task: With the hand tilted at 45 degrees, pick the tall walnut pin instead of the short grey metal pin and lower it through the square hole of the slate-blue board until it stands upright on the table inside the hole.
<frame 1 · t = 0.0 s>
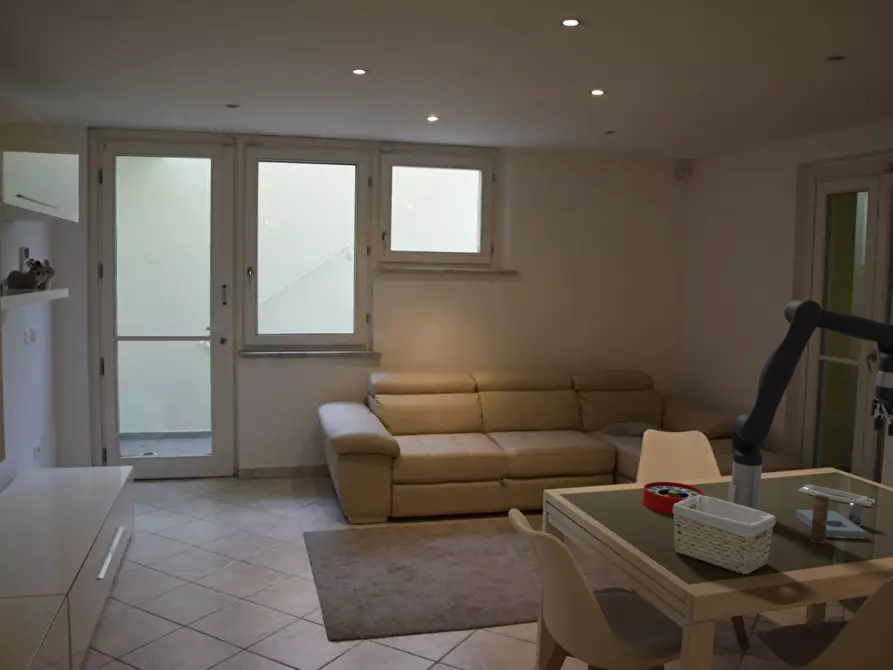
hand: (884, 432, 261), 29 cm above the table, tool pointing down, fingers open, 8 cm apart
storage basket: (720, 559, 221), on the table
hole board: (834, 531, 248), on the table
short pin: (854, 524, 256), on the table
door handle: (835, 499, 286), on the table
long pin: (817, 541, 238), on the table
toy clock: (672, 507, 268), on the table
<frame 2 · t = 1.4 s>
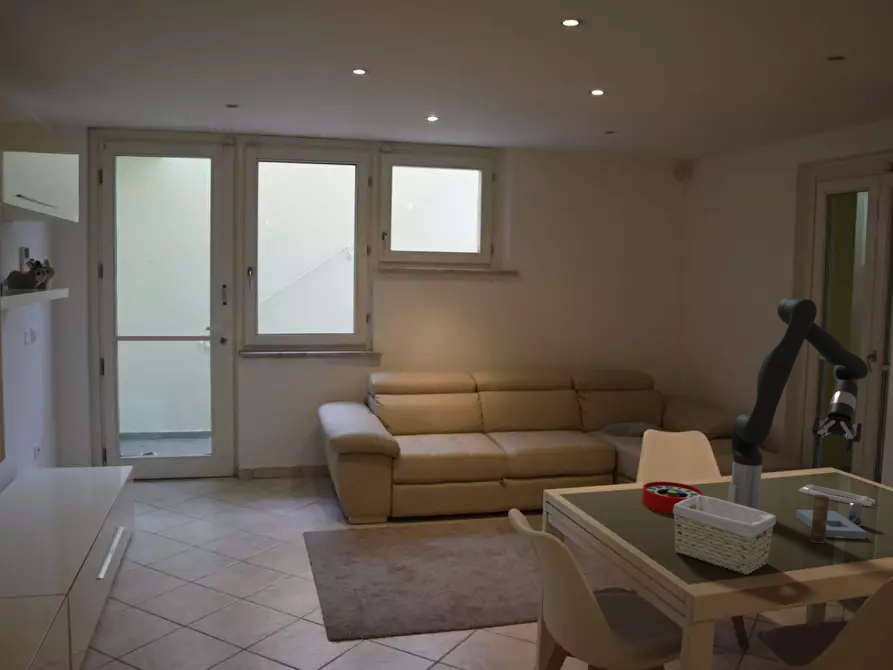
hand: (833, 448, 251), 26 cm above the table, tool tilted 45°, fingers open, 8 cm apart
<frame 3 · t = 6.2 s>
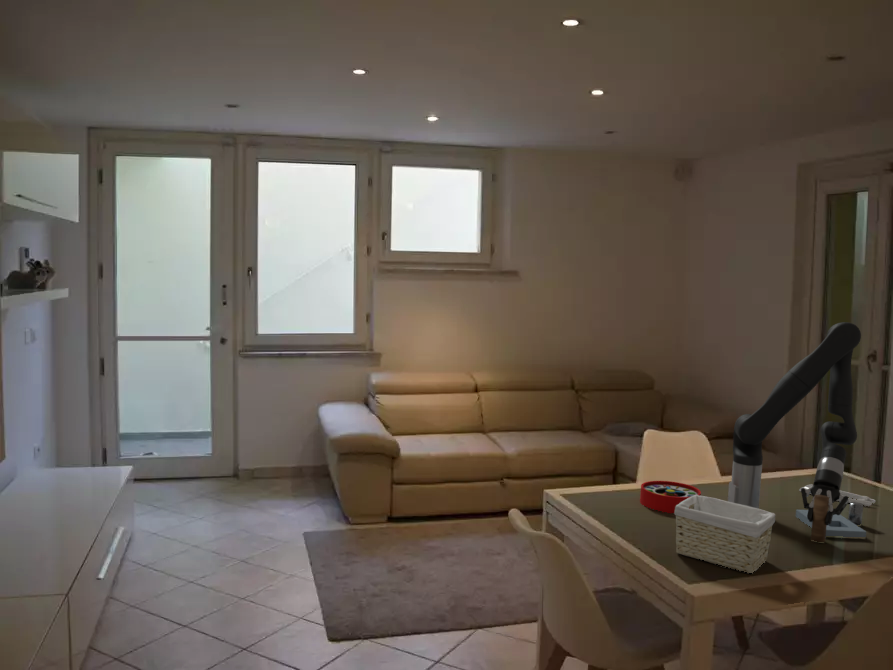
hand: (818, 522, 236), 7 cm above the table, tool tilted 45°, fingers closed on long pin, 4 cm apart
long pin: (817, 541, 238), on the table, touching gripper
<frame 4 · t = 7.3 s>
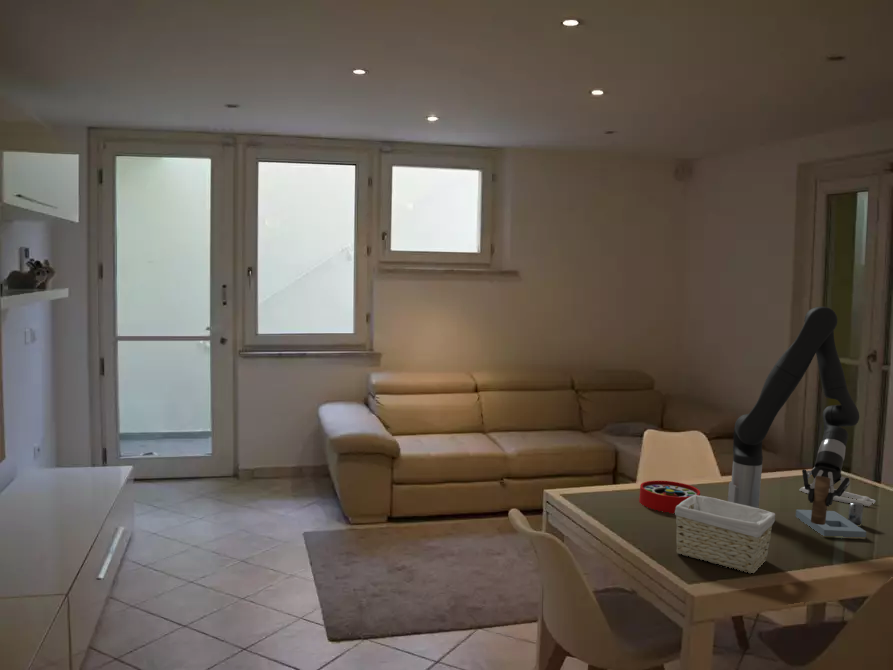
hand: (819, 503, 236), 12 cm above the table, tool tilted 45°, fingers closed on long pin, 4 cm apart
long pin: (817, 522, 238), point 6 cm above the table, touching gripper
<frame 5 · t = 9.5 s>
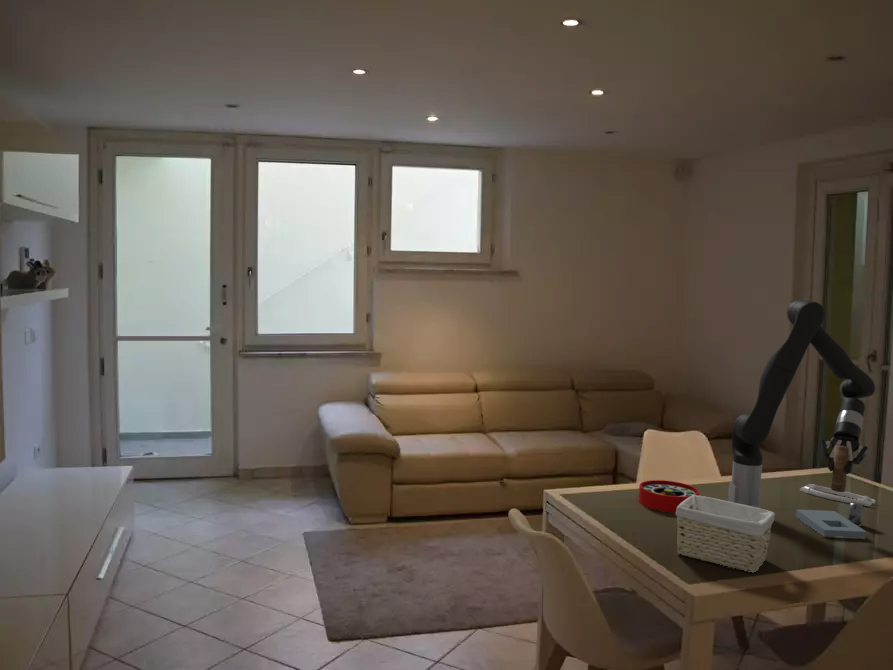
hand: (838, 471, 245), 20 cm above the table, tool tilted 45°, fingers closed on long pin, 4 cm apart
long pin: (838, 490, 247), point 14 cm above the table, touching gripper
when the fingers open (8 cm above the table, at t = 12.7 s): long pin drops 2 cm, resting in hole board.
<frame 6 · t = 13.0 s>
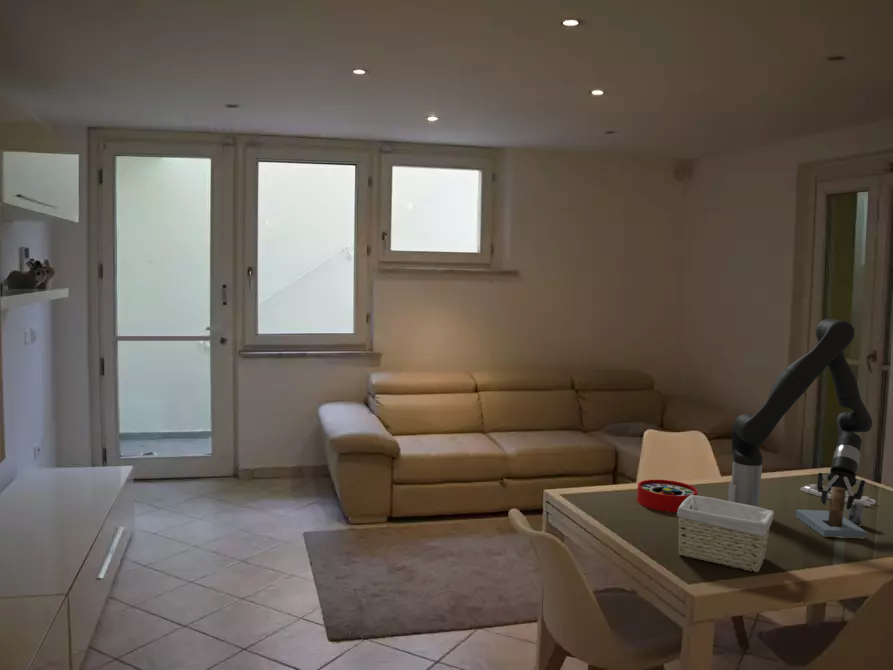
hand: (836, 505, 246), 9 cm above the table, tool tilted 45°, fingers open, 6 cm apart
long pin: (834, 531, 248), resting in hole board
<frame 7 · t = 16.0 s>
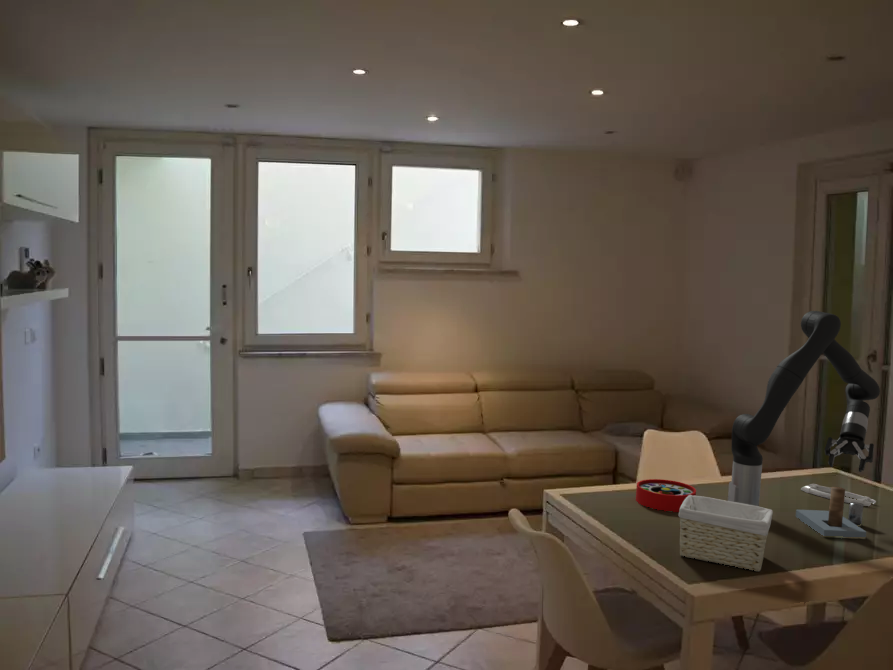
hand: (845, 468, 255), 19 cm above the table, tool tilted 45°, fingers open, 8 cm apart
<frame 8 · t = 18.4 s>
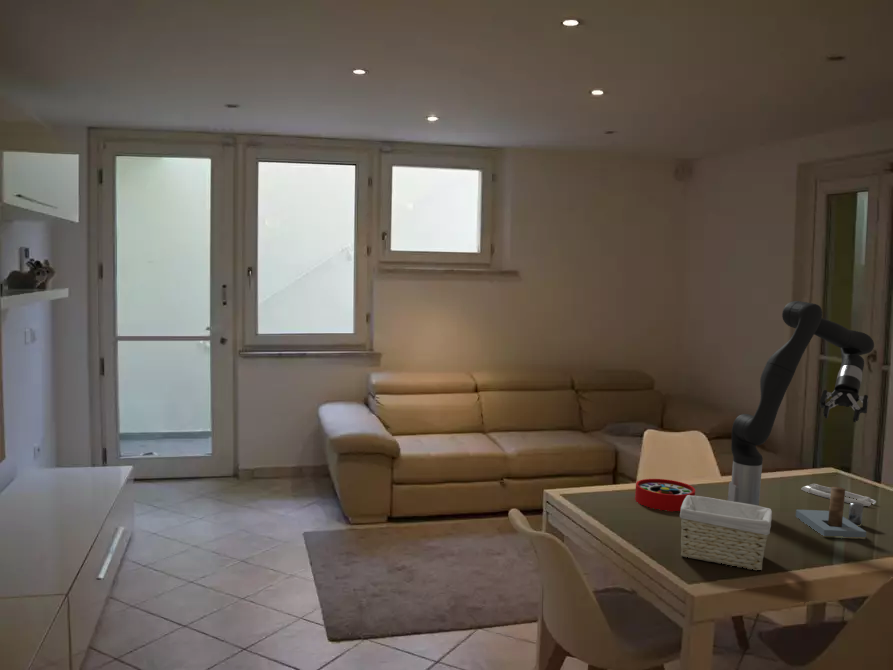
hand: (840, 418, 260), 34 cm above the table, tool tilted 45°, fingers open, 8 cm apart
at the end: long pin 0.1 cm off-centre on the hole board, point 0.0 cm above the hole board's base; long pin tilted 0°; short pin moved 0.0 cm from its start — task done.
